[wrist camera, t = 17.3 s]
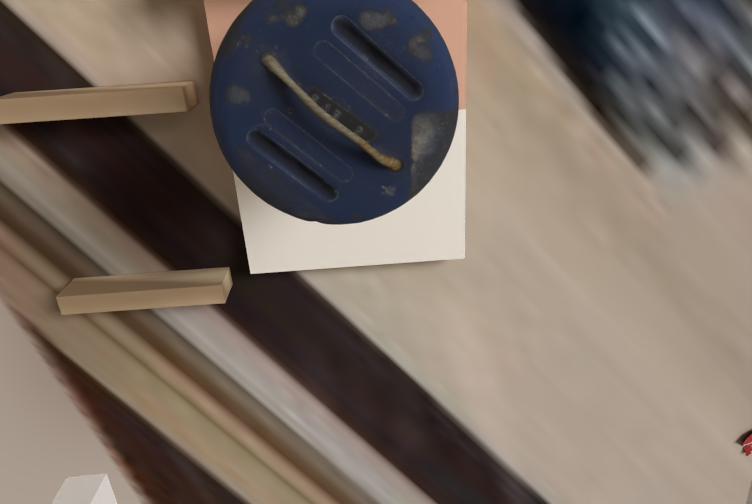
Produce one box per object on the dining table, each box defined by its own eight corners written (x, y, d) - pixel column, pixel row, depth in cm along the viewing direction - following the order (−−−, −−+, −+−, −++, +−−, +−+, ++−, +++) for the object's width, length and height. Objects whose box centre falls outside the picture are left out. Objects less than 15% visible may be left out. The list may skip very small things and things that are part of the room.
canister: (357, -57, 33) (365, -111, 16) (444, 79, 36) (522, 146, 20) (234, 45, 35) (131, 87, 18) (327, 164, 38) (310, 289, 22)
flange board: (459, 247, 43) (475, 283, 38) (254, 262, 43) (241, 300, 38) (461, -78, 34) (482, -93, 29) (200, -62, 34) (172, -73, 29)
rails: (232, 283, 44) (224, 302, 41) (79, 295, 44) (61, 315, 41) (194, 80, 37) (182, 87, 35) (14, 92, 37) (-12, 100, 35)
